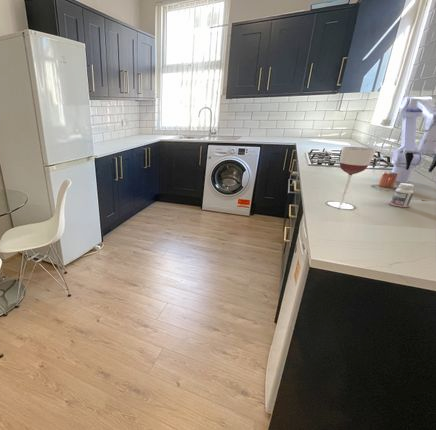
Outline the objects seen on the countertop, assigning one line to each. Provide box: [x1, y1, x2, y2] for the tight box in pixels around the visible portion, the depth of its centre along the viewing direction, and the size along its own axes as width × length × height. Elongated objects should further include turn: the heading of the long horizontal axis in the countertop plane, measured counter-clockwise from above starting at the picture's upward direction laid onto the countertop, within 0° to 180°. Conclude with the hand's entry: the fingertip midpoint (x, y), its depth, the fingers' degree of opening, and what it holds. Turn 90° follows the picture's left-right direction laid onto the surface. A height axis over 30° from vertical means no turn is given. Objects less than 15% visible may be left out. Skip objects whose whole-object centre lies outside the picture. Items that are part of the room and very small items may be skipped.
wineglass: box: [327, 146, 377, 210], centre depth 110 cm, size 9×10×23 cm
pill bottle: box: [390, 182, 415, 208], centre depth 113 cm, size 5×5×9 cm
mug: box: [377, 171, 398, 189], centre depth 135 cm, size 8×6×7 cm
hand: (418, 170), depth 131 cm, fingers open, 7 cm apart
